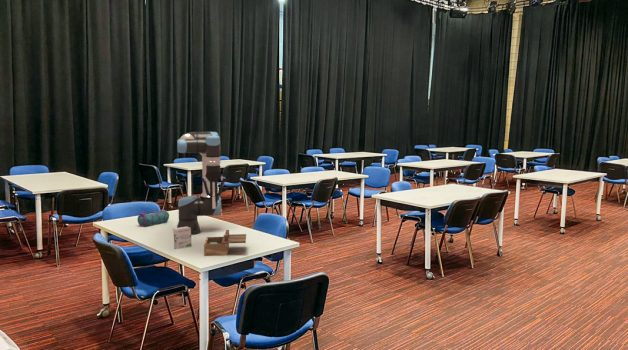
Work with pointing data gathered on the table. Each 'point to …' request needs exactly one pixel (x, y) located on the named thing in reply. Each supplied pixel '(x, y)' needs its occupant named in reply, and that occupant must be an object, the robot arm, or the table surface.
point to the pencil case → (153, 218)
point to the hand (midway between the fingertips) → (214, 208)
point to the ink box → (182, 237)
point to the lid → (233, 238)
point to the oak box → (215, 247)
